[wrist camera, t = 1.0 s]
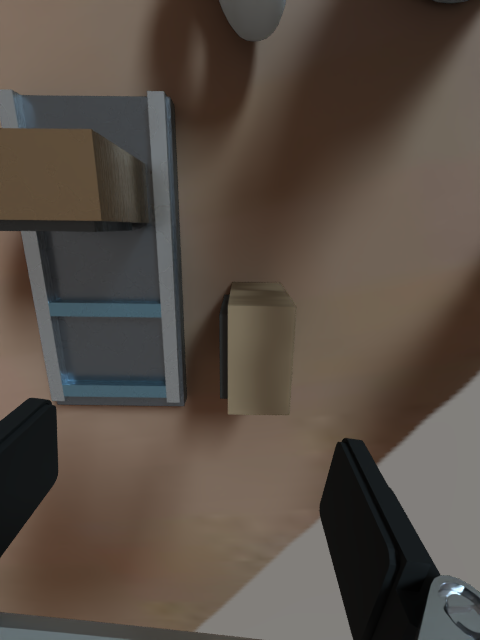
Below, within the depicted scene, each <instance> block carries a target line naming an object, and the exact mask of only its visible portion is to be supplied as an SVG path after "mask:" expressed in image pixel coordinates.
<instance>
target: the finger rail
mask: <svg viewBox="0 0 480 640" xmlns="http://www.w3.org/2000/svg"><path fill="white" fill-rule="evenodd" d="M0 120H1V126H2V128H0V231H21V235H22V240H23V245H24V251H25V256H26V262H27V267H28V273H29V278H30V284H31V289H32V294H33V300H34V305H35V311H36V316H37V322H38V327H39V333H40V338H41V343H42V349H43V354H44V360H45V365H46V371H47V376H48V382H49V387H50V393H51V398H52V401H57V404H61V405H136V406H184V405H185V402H186V399H187V387H186V364H185V340H184V317H183V294H182V270H181V247H180V223H179V200H178V176H177V153H176V129H175V106H174V103H173V101H172V100H171V98H170V97H167V96H166V94H165V92H164V91H147V97H130V96H35V95H20V94H18V93H17V92H15V91H13V90H0Z"/></svg>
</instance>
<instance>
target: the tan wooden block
mask: <svg viewBox="0 0 480 640" xmlns="http://www.w3.org/2000/svg"><path fill="white" fill-rule="evenodd" d="M219 317H220V398H222V399H228V414H236V415H289V413H290V398H291V382H292V367H293V352H294V336H295V321H296V305H295V304H294V302H293V301H292V299H291V298H290V297H289V295H288V294H287V292H286V291H285V289H284V288H283V286H282V285H281V283H268V282H232V286H231V291H230V295H224V299H223V303H222V307H221V310H220V314H219Z"/></svg>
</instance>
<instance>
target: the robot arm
mask: <svg viewBox="0 0 480 640" xmlns="http://www.w3.org/2000/svg"><path fill="white" fill-rule="evenodd" d="M57 476H58V449H57V416H56V407H55V406H54V405H52V403H51V401H50V400H45V399H38V398H29V399H27V400H26V401H25V402H23V403H22V404H21V405H20V406H19V407H17V408H16V409H15V410H14V411H12V412H11V413H10V414H9V415H7V416H6V417H5V418H4V419H2V420H1V421H0V557H1V556H2V555H3V553H4V552H5V550H6V549H7V548H8V546H9V545H10V544H11V542H12V541H13V539H14V538H15V537H16V535H17V534H18V533H19V531H20V530H21V529H22V527H23V526H24V524H25V523H26V522H27V520H28V519H29V518H30V516H31V515H32V514H33V512H34V511H35V509H36V508H37V507H38V505H39V504H40V503H41V501H42V500H43V499H44V497H45V496H46V494H47V493H48V492H49V490H50V489H51V488H52V486H53V485H54V483H55V481H56V479H57ZM320 517H321V521H322V525H323V529H324V532H325V536H326V539H327V543H328V547H329V551H330V555H331V558H332V562H333V566H334V570H335V573H336V577H337V581H338V584H339V588H340V592H341V596H342V600H343V603H344V607H345V610H346V615H347V618H348V622H349V626H350V630H351V633H352V637H353V640H480V592H479V591H478V590H476V589H475V588H474V587H472V586H471V585H470V584H468V583H466V582H464V581H462V580H461V579H459V578H455V577H452V576H448V575H440V573H439V571H438V570H437V568H436V566H435V565H434V563H433V561H432V559H431V557H430V556H429V554H428V552H427V550H426V549H425V547H424V545H423V543H422V542H421V540H420V538H419V536H418V534H417V533H416V531H415V529H414V527H413V526H412V524H411V522H410V520H409V519H408V517H407V515H406V513H405V512H404V510H403V508H402V506H401V505H400V503H399V501H398V499H397V497H396V496H395V494H394V493H393V491H392V490H391V488H389V487H388V485H387V483H386V481H385V480H384V478H383V476H382V474H381V473H380V471H379V469H378V467H377V465H376V464H375V462H374V460H373V458H372V456H371V455H370V453H369V451H368V449H367V447H366V446H365V444H364V442H363V441H362V440H356V439H348V438H344V439H343V440H342V442H338V443H337V445H336V448H335V451H334V455H333V459H332V462H331V466H330V470H329V473H328V477H327V480H326V484H325V488H324V491H323V495H322V498H321V502H320ZM0 640H259V639H251V638H243V637H234V636H225V635H216V634H207V633H198V632H188V631H179V630H170V629H160V628H151V627H142V626H132V625H123V624H113V623H104V622H94V621H85V620H75V619H65V618H54V617H44V616H34V615H24V614H14V613H4V612H0Z"/></svg>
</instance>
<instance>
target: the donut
mask: <svg viewBox="0 0 480 640" xmlns="http://www.w3.org/2000/svg"><path fill="white" fill-rule="evenodd" d="M219 2H220V5H221V7H222V10H223V12H224V14H225V16H226V18H227V20H228V22H229V24H230V25H231V27H232V28H233V29H234V31H235V32H236V33H237V34H238V35H239V36H240V37H241V38H243V39H245V40H246V41H261V40H264V39H266V38H268V37H269V36H270V35H271V34H272V33H273V32H274V31H275V29H276V28H277V26H278V24H279V22H280V19H281V16H282V13H283V10H284V7H285V3H286V0H219Z"/></svg>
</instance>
